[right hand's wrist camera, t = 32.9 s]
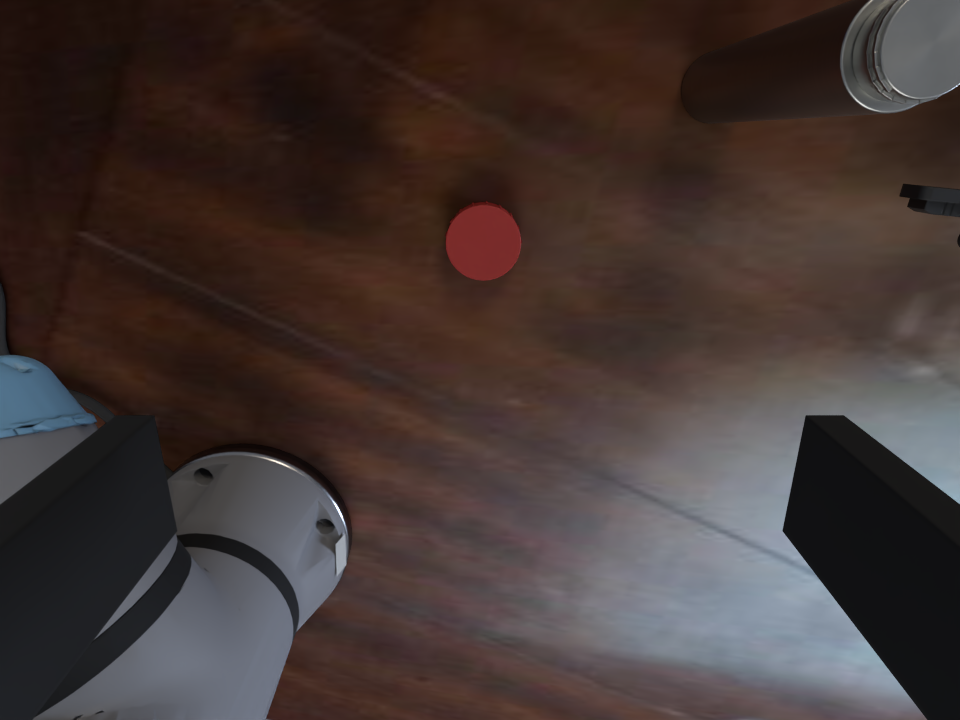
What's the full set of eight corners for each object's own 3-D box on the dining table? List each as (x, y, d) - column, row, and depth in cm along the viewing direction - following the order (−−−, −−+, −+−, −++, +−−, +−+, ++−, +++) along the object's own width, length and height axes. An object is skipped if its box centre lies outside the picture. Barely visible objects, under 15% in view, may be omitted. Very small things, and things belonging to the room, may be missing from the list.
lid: (448, 197, 40) (447, 200, 38) (524, 204, 40) (526, 207, 38) (443, 271, 42) (442, 278, 40) (516, 278, 42) (517, 284, 40)
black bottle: (719, 35, 37) (957, -66, 18) (760, 86, 38) (1026, 40, 19) (667, 89, 38) (843, 44, 19) (708, 137, 39) (914, 138, 20)
